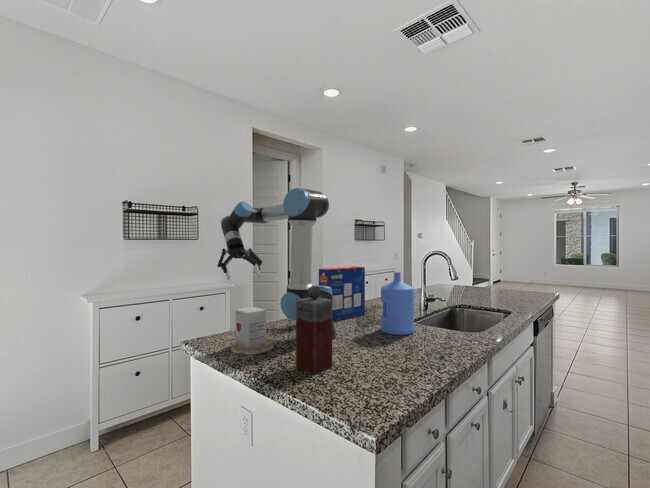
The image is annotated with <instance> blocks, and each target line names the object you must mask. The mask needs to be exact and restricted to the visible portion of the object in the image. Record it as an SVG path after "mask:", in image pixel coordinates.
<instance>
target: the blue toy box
mask: <svg viewBox="0 0 650 488" xmlns="http://www.w3.org/2000/svg"><path fill="white" fill-rule="evenodd" d="M365 273H366V269H365V266H356V265H355V266H354V265H353V266H352V265H351V266H340V267H325V268H318V285H319V286H329V287H331V288H332V294H333V296H332V320H333V323H335V322H340V320H341V321H344V320H350V319H354V318H359V317H363V316H366V311H365V310H366V306H365V305H366V304H365V303H366V302H365V301H366V299H365V297H366V296H365V295H366V289H365V287H366V280H365V279H366V274H365Z"/></svg>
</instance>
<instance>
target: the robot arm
mask: <svg viewBox="0 0 650 488" xmlns="http://www.w3.org/2000/svg"><path fill="white" fill-rule="evenodd" d="M329 208H330V201H329V199H328V196H327V195H325V194H324V193H323V192H321V191H318V190H312V189H309V188H305V187H304V188H302V187H301V188H300V187H295V188H292V189H290V190H289V191H288V192H287V193H286V195H284V199H283V202H282V204H281V203H280V204H275V205H270V206H264V207H252V205H251V204H249V202H246V201H244V200H243V201H239V202H238V203H237V204H236V206H235V207H234V208H233V210H232V212H231V213H230V214H229V215H226V216H225V217H223V218H221V220H220V225H221V227H220V228H221V230H222V233H223V238H224V241H225V244H226V248H222V249H221V254H220V255H221V256H220V258H219V260H218V263H217V268H221V270H222V273H224V274H225V276H226V278H227V279H226V280H227V281H230V278H231V272H230V269H229V263H230V262H231V261H232V260H233V259H235V260H236V259H242V260H246V261H247V262H248V263H250V264H251V265H253V267H254V271H255V274H256V277H257V279H260V277H261V272H260V271H261V266H262V264H263V260H262V259H260V257H259V256H258V255H257V254H256V253H255V252H253V249H252V248H251V247H250V248H248V249H246V248H245V247H244V242H243V239H242V236H241V233H240V229H241V227H242V226H243V225H244V224H245V223H248V224H249V223H253V224H268V223H270V222H275V221H282V220H283V221H284V220H287V221H288V222H289V224H290V225H291V249H290V279H289V280H290V281H289V284H287V286H286V293H284V294H283V295H282V297H281V298H280V302H279V303H280V304H279V305H280V309H281V312H282V314H284V316H285V317H286V318H287V319H289V320H290V321H296V301H297V300H299V299H304V298H310V297H309V296H308V289H309V287H310V286H318V287H319V288H320V290H321V293H320V296H319V298H325V299H330V300H332V296H333V294H332V288H331V287H329V286H319V284H318V285H316V284H315V285H314V284H312V262H313V261H312V260H313V259H312V258H313V256H312V255H313V254H312V253H313V229H314V228H313V226H314V225H315V224H316V223H317V219H319V218H322V217H323V216H325V215H326V214H327V212H328V211H329ZM227 254H228V255H229V256H228V257H227V258H226V259H225V260H224V258H225V256H226V255H227ZM336 330H337V329H336V327H335V322H333V320H332V340H334V339H336V338H337V331H336Z"/></svg>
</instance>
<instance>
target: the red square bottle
mask: <svg viewBox="0 0 650 488" xmlns="http://www.w3.org/2000/svg"><path fill="white" fill-rule="evenodd" d="M320 293H321V290H320V288H319V287H318V286H310V287H309V289H308V296H309V297H310V298H304V299H299V300H297V301H296V320H295V334H296V335H295V368H296V369H298V370H301V371H304V372H306V373H309V374H312V375H318V374H320V373H321V372H325V371H327V370H329V369H332V368H333V339H332V300H330V299H325V298H319V296H320Z"/></svg>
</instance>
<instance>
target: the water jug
mask: <svg viewBox="0 0 650 488" xmlns="http://www.w3.org/2000/svg"><path fill="white" fill-rule="evenodd" d="M401 278H402V276H401V272H399V271H396V272H395V271H394V273H393V281H391V282H388V283H387V284H385V285H383V286H381V288H380V302H382V314H381V315H380V331H382V332H383V333H385V334H388V335H393V336H406V335H411V334H413V333H414V331H415V326H414V325H415V319H414V317H415V306H414V305H415V304H414V303H415V300H414V299H415V289H414V287H413V286H411V285H409V284H407V283H405V282H403V281H401Z"/></svg>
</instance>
